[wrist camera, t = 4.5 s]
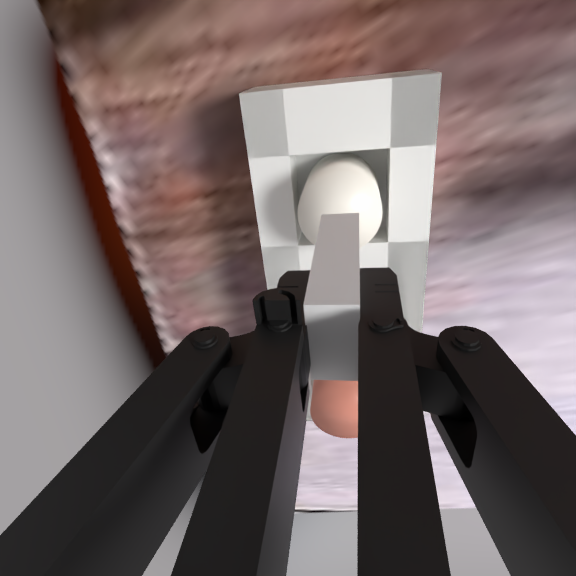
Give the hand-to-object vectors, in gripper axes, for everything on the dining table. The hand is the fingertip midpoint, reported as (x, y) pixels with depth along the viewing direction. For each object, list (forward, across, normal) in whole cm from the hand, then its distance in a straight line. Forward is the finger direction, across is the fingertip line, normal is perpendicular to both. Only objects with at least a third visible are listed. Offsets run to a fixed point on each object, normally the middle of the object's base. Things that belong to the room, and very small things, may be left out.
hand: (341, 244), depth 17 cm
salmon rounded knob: (+7, 0, -13) cm, 14 cm away
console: (+11, 0, -7) cm, 13 cm away
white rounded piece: (+9, 0, -1) cm, 9 cm away
